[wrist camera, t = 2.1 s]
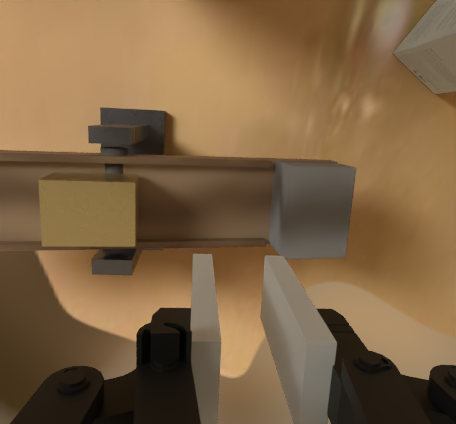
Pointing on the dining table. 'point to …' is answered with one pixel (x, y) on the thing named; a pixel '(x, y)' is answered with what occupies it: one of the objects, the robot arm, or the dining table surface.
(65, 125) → the dining table surface
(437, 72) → the small box
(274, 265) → the robot arm
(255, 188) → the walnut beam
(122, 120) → the beam stand
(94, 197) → the block
